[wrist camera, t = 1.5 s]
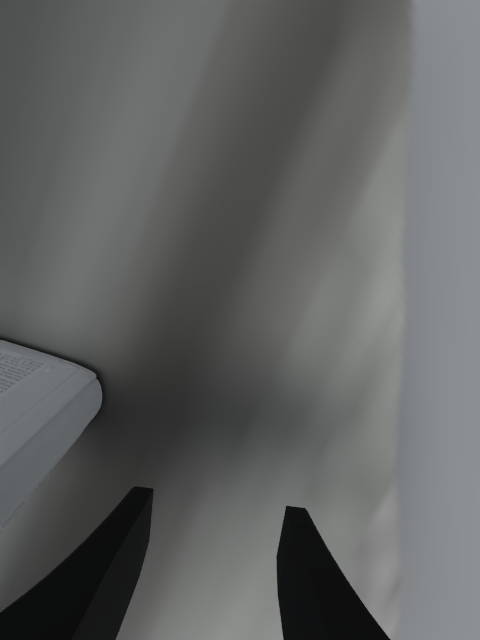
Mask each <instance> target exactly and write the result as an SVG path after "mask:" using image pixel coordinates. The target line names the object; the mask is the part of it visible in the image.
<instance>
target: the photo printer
mask: <svg viewBox="0 0 480 640" xmlns="http://www.w3.org/2000/svg"><path fill="white" fill-rule="evenodd" d="M101 404H102V390H101V386H100V383H99V381H98V380H97V379H96V374H95V373H94V372H92V371H90V370H88V369H86V368H84V367H82V366H80V365H78V364H75V363H72V362H69V361H67V360H64V359H61V358H57V357H54V356H52V355H49V354H45V353H42V352H39V351H36V350H33V349H30V348H26V347H23V346H20V345H17V344H13V343H10V342H7V341H3V340H0V532H1V531H2V529H3V528H4V527H5V526H6V524H7V523H8V522H9V521H10V520H11V518H12V517H13V516H14V515H15V514H16V512H17V511H18V510H19V509H20V508H21V506H22V505H23V504H24V503H25V502H26V501H27V499H28V498H29V497H30V496H31V495H32V494H33V492H34V491H35V490H36V489H37V487H38V486H39V485H40V484H41V482H42V481H43V480H44V479H45V478H46V477H47V475H48V474H49V473H50V472H51V470H52V469H53V468H54V467H55V466H56V465H57V463H58V462H59V461H60V460H61V458H62V457H63V456H64V455H65V454H66V452H67V451H68V450H69V449H70V447H71V446H72V445H73V444H74V442H75V441H76V440H77V439H78V438H79V436H80V435H81V434H82V432H83V431H84V429H85V427H86V426H87V425H88V424H89V423H90V421H91V420H92V419H93V418H94V417H95V415H96V414H97V413H98V411H99V409H100V407H101Z"/></svg>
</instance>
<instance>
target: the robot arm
mask: <svg viewBox="0 0 480 640" xmlns="http://www.w3.org/2000/svg"><path fill="white" fill-rule="evenodd" d="M153 490H154V489H152V488H144V487H136V486H135V487H133V488H132V489H131V490H130V491H129V492H128V494H127V495H126V496H125V497H124V498H123V500H122V501H121V502H120V503H119V504H118V505H117V507H116V508H115V509H114V510H113V511H112V512H111V513H110V515H109V516H108V517H107V518H106V519H105V520H104V521H103V522H102V523H101V524H100V525H99V526H98V527H97V528H96V529H95V530H94V532H93V533H92V534H91V535H90V536H89V537H88V538H87V539H86V540H85V541H84V542H83V543H82V544H81V545H80V546H79V547H77V548H76V549H75V550H74V551H73V552H72V553H71V554H70V555H69V556H68V557H67V558H66V559H65V560H64V561H63V562H62V563H61V564H59V565H58V566H57V567H56V568H55V569H54V570H53V571H52V572H50V573H49V574H48V575H47V576H46V577H45V578H43V579H42V580H41V581H40V582H39V583H37V584H36V585H35V586H34V587H33V588H31V589H30V590H29V591H28V592H26V593H25V594H24V595H23V596H21V597H20V598H19V599H17V600H16V601H15V602H13V603H12V604H11V605H10V606H8V607H7V608H6V609H4V610H3V611H2V612H0V640H116V637H117V635H118V632H119V629H120V627H121V624H122V621H123V619H124V616H125V613H126V611H127V608H128V606H129V603H130V600H131V598H132V595H133V592H134V590H135V587H136V584H137V581H138V579H139V576H140V572H141V569H142V565H143V562H144V558H145V554H146V551H147V547H148V543H149V537H150V525H151V513H152V502H153ZM277 586H278V599H279V607H280V615H281V623H282V630H283V638H284V640H390V639H389V637H388V636H387V635H386V634H385V632H384V631H383V630H382V628H381V627H380V626H379V625H378V623H377V622H376V621H375V619H374V618H373V617H372V615H371V614H370V613H369V611H368V610H367V608H366V607H365V606H364V604H363V603H362V601H361V600H360V598H359V597H358V595H357V594H356V592H355V591H354V590H353V588H352V587H351V585H350V584H349V582H348V580H347V579H346V577H345V576H344V574H343V573H342V571H341V569H340V568H339V566H338V565H337V563H336V561H335V560H334V558H333V556H332V555H331V553H330V551H329V550H328V548H327V546H326V544H325V543H324V541H323V539H322V537H321V536H320V534H319V532H318V530H317V528H316V526H315V525H314V523H313V521H312V519H311V517H310V515H309V513H308V511H307V510H306V509H305V508H299V507H292V506H286V511H285V516H284V521H283V526H282V531H281V537H280V542H279V547H278V552H277Z"/></svg>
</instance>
